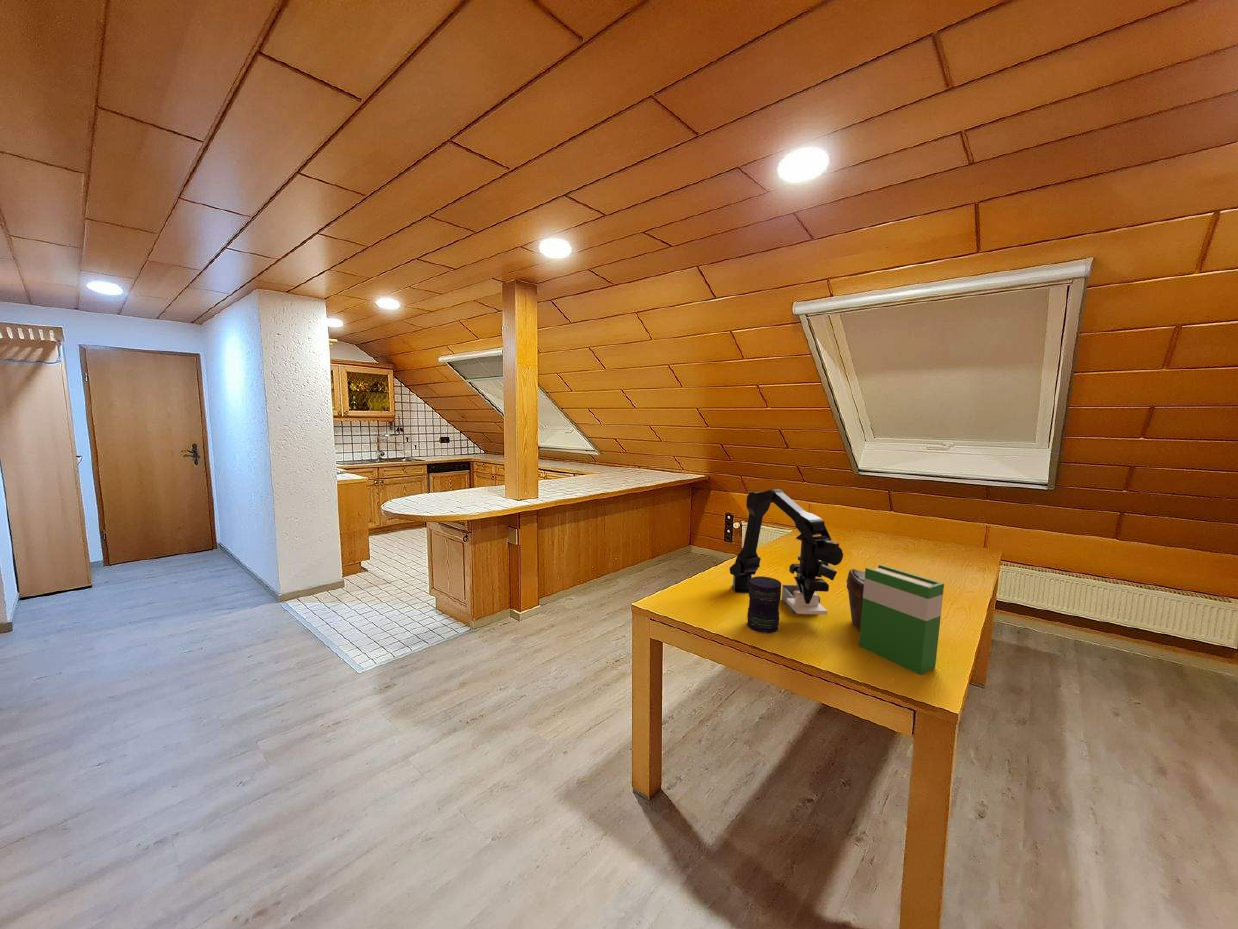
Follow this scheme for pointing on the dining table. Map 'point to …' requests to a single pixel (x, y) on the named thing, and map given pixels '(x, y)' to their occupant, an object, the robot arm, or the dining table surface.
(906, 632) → the hardback book
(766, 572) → the dining table surface
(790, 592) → the grey open box
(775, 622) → the storage jar
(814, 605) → the lid
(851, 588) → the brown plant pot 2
